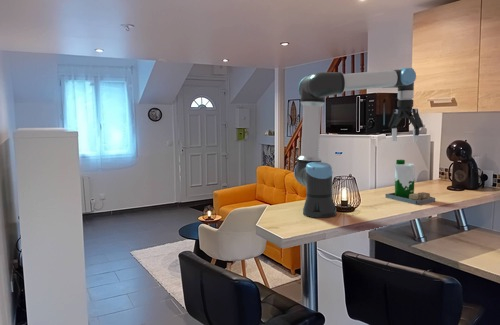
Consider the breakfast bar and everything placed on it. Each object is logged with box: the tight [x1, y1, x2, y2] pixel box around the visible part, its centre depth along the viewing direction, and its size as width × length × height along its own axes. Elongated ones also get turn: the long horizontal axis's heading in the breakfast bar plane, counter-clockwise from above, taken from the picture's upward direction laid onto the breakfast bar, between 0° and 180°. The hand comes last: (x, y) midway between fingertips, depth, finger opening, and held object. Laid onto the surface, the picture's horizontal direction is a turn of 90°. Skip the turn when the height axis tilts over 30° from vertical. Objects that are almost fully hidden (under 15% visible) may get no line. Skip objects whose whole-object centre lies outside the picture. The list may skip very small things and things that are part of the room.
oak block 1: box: [409, 193, 421, 201], centre depth 188 cm, size 4×4×4 cm
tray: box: [385, 192, 436, 206], centre depth 195 cm, size 13×20×2 cm, turn 25°
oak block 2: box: [417, 191, 431, 200], centre depth 190 cm, size 4×4×4 cm
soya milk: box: [394, 159, 416, 199], centre depth 197 cm, size 9×9×20 cm
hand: (404, 141), depth 195 cm, fingers open, 13 cm apart
